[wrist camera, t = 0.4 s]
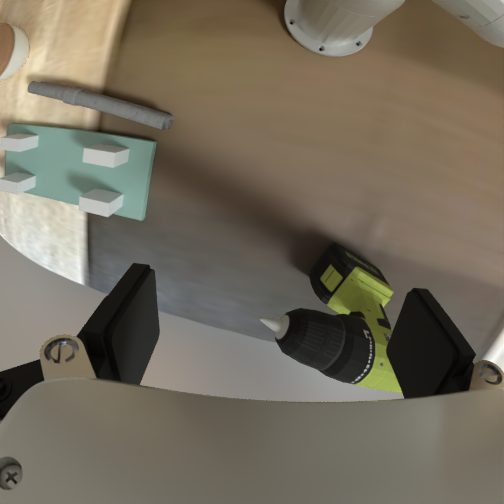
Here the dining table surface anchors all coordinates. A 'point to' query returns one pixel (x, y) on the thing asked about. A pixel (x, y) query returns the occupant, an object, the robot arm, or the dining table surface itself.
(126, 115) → the metal rod assembly
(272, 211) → the dining table surface
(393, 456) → the robot arm
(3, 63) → the lidded jar
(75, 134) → the jaw cradle
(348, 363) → the cordless drill
